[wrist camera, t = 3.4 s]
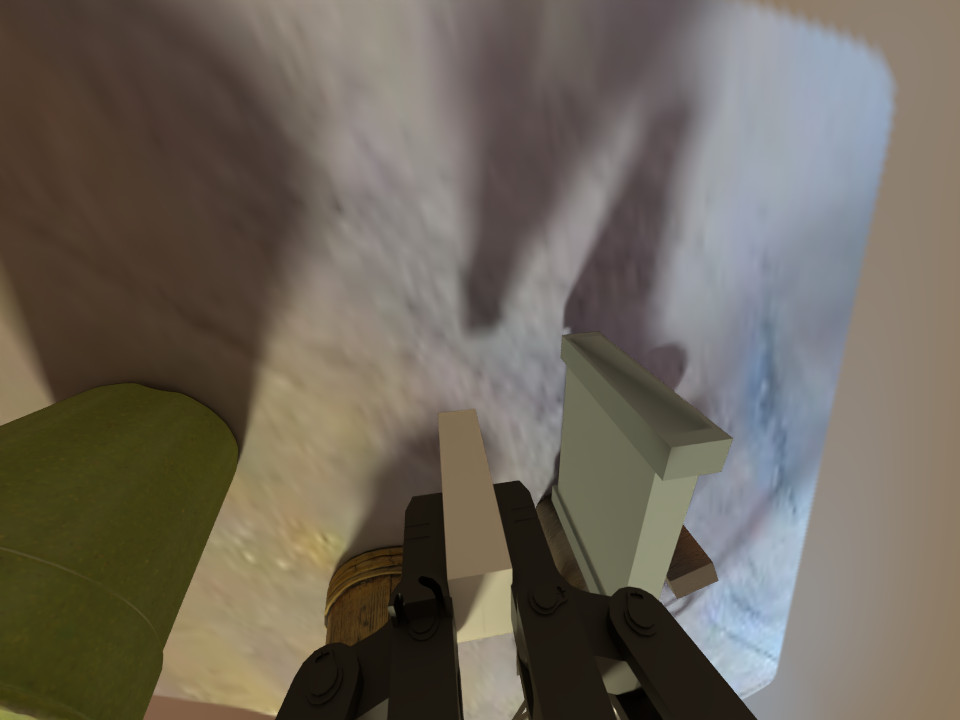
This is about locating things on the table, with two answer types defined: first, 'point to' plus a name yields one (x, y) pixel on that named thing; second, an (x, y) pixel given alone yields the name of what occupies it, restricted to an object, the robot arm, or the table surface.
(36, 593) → the plant pot
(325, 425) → the table surface
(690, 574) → the block
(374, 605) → the wooden mug
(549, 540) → the hinge post
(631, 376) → the grey-green flanged panel
